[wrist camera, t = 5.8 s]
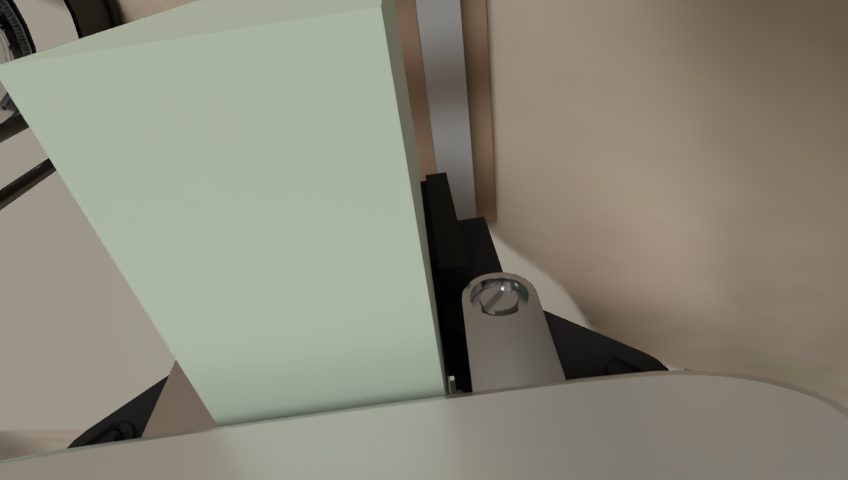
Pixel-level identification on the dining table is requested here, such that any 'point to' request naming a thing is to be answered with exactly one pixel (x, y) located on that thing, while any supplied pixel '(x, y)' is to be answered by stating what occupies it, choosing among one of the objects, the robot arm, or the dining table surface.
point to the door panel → (255, 195)
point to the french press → (10, 39)
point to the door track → (473, 96)
